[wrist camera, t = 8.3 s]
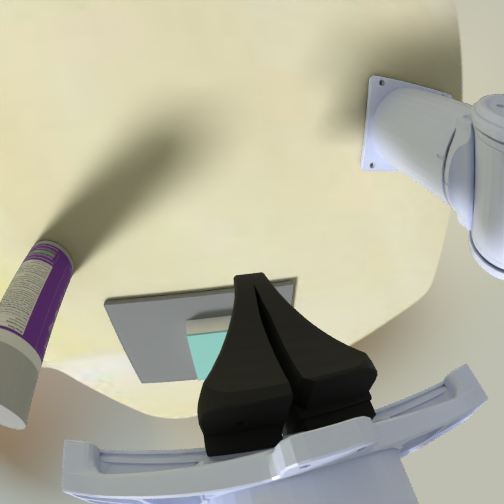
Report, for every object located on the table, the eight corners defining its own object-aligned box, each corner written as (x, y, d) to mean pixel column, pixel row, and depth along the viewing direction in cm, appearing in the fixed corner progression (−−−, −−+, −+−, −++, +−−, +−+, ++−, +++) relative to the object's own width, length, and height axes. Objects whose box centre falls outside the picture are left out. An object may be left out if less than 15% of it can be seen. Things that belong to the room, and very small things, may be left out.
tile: (255, 327, 28) (186, 336, 27) (254, 372, 32) (198, 380, 31) (251, 312, 29) (186, 320, 28) (251, 359, 34) (196, 366, 33)
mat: (291, 280, 29) (293, 284, 28) (281, 363, 37) (282, 367, 36) (104, 300, 26) (103, 305, 25) (141, 379, 34) (141, 383, 33)
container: (75, 286, 24) (36, 436, 12) (33, 278, 23) (-20, 417, 11) (73, 244, 22) (13, 405, 10) (27, 236, 20) (-49, 380, 8)
